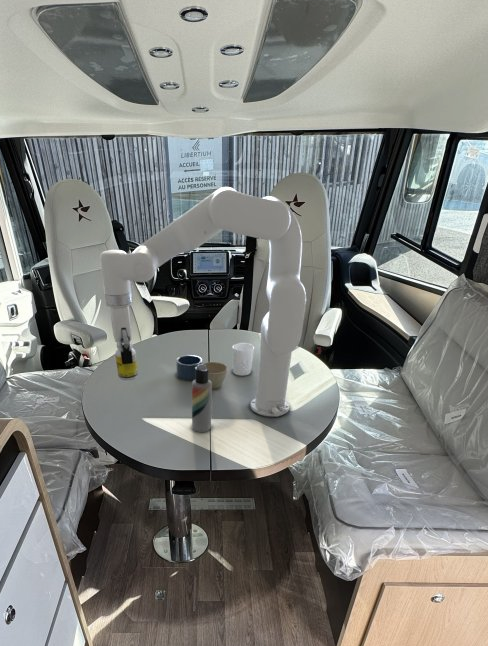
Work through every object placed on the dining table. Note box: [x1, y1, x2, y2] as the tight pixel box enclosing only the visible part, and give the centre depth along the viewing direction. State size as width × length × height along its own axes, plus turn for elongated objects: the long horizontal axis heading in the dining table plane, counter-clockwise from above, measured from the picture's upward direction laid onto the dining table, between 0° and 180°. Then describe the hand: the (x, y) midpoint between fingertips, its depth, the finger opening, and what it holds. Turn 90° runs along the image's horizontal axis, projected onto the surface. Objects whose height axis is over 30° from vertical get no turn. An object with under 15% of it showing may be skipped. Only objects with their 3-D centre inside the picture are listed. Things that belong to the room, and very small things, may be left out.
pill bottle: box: [115, 340, 139, 381], centre depth 136 cm, size 6×6×11 cm
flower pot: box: [202, 361, 228, 390], centre depth 156 cm, size 10×10×7 cm
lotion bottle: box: [191, 363, 213, 433], centre depth 129 cm, size 6×6×20 cm
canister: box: [175, 354, 203, 381], centre depth 164 cm, size 9×9×6 cm
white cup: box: [232, 342, 255, 377], centre depth 165 cm, size 8×8×10 cm
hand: (126, 358), depth 135 cm, fingers closed on pill bottle, 6 cm apart
